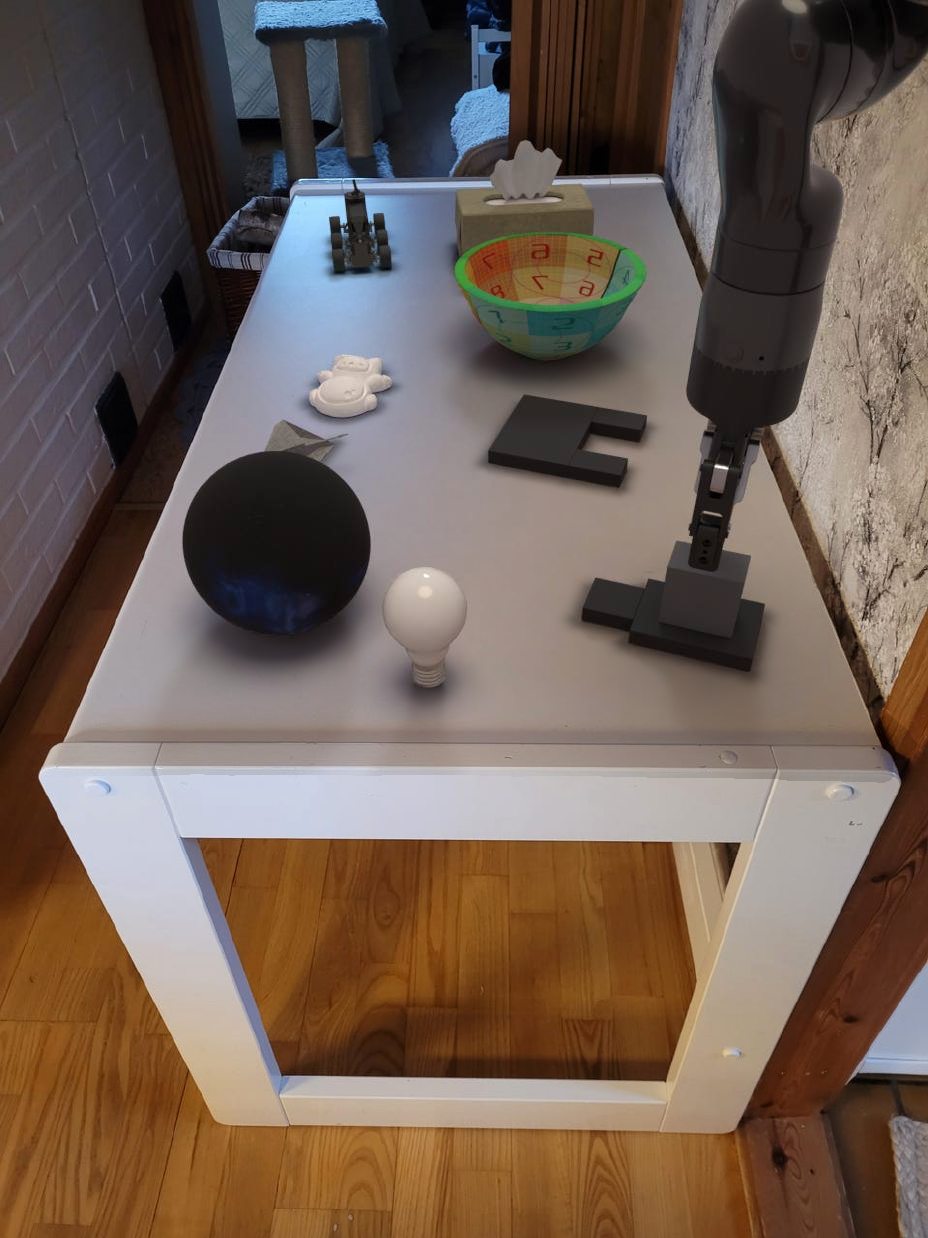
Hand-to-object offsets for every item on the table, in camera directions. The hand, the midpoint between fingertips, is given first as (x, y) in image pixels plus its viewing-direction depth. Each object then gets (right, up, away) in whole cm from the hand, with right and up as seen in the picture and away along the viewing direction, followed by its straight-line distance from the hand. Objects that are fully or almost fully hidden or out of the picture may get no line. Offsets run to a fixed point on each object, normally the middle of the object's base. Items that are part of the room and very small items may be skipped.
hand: (712, 533), depth 73 cm
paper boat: (-35, +8, +25) cm, 44 cm away
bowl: (-9, +27, +44) cm, 53 cm away
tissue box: (-11, +46, +65) cm, 80 cm away
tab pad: (-2, -7, +7) cm, 10 cm away
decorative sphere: (-34, -6, +10) cm, 36 cm away
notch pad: (-8, +12, +28) cm, 32 cm away
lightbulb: (-22, -12, +3) cm, 25 cm away
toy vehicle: (-34, +47, +67) cm, 89 cm away
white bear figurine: (-32, +20, +38) cm, 53 cm away
